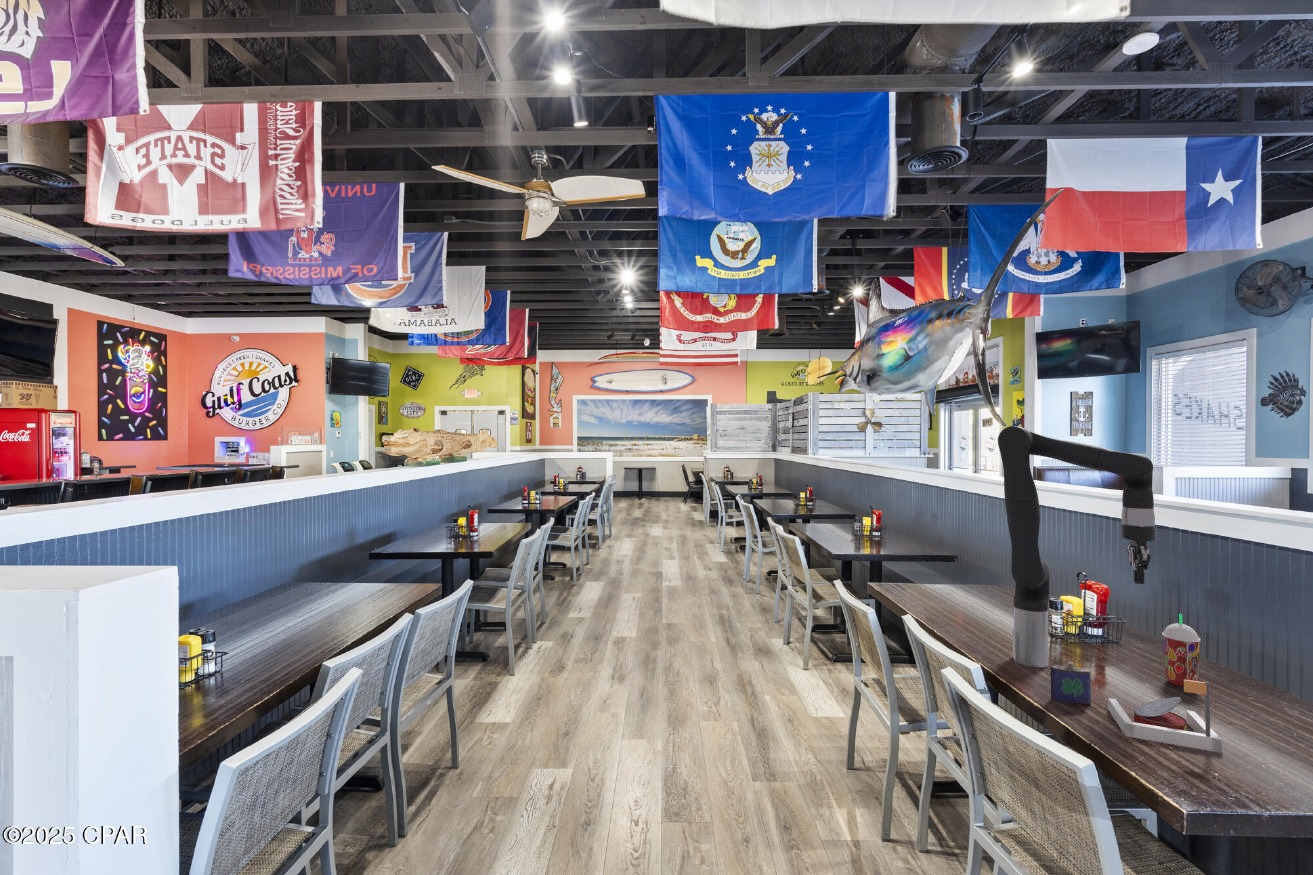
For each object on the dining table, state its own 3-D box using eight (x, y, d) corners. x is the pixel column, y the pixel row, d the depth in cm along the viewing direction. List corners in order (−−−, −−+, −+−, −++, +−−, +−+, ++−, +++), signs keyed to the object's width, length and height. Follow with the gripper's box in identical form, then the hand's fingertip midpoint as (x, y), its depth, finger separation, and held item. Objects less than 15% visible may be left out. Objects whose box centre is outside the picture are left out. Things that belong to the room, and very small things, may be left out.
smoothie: (1208, 690, 164) (1207, 619, 165) (1174, 688, 166) (1173, 617, 167) (1188, 679, 173) (1187, 611, 173) (1155, 677, 174) (1155, 609, 175)
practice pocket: (1125, 736, 138) (1124, 671, 138) (1108, 709, 152) (1107, 651, 152) (1222, 752, 130) (1220, 685, 131) (1194, 723, 144) (1193, 662, 145)
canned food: (1170, 757, 137) (1158, 723, 136) (1128, 732, 147) (1116, 700, 145) (1206, 732, 139) (1194, 698, 137) (1161, 709, 149) (1150, 677, 147)
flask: (1088, 702, 157) (1088, 661, 157) (1093, 706, 154) (1093, 665, 154) (1049, 698, 159) (1048, 658, 159) (1053, 702, 156) (1052, 662, 156)
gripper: (1115, 520, 177) (1116, 577, 177) (1128, 525, 166) (1129, 586, 165) (1147, 521, 174) (1147, 580, 174) (1162, 526, 162) (1163, 589, 162)
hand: (1138, 583), depth 169 cm, fingers closed
